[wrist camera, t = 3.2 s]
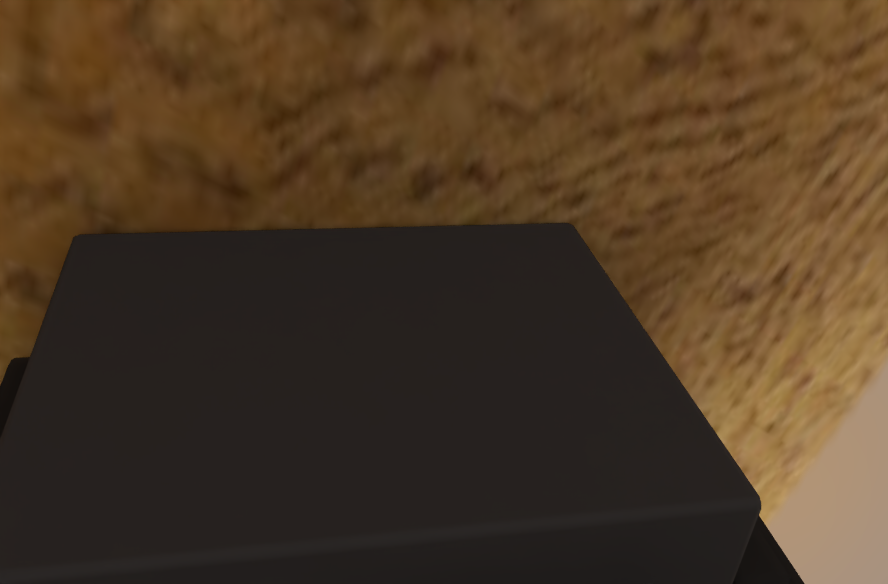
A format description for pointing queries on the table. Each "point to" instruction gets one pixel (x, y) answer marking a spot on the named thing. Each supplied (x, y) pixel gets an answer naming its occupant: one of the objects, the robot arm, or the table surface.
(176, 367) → the small cube
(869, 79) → the table surface
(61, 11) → the table surface
